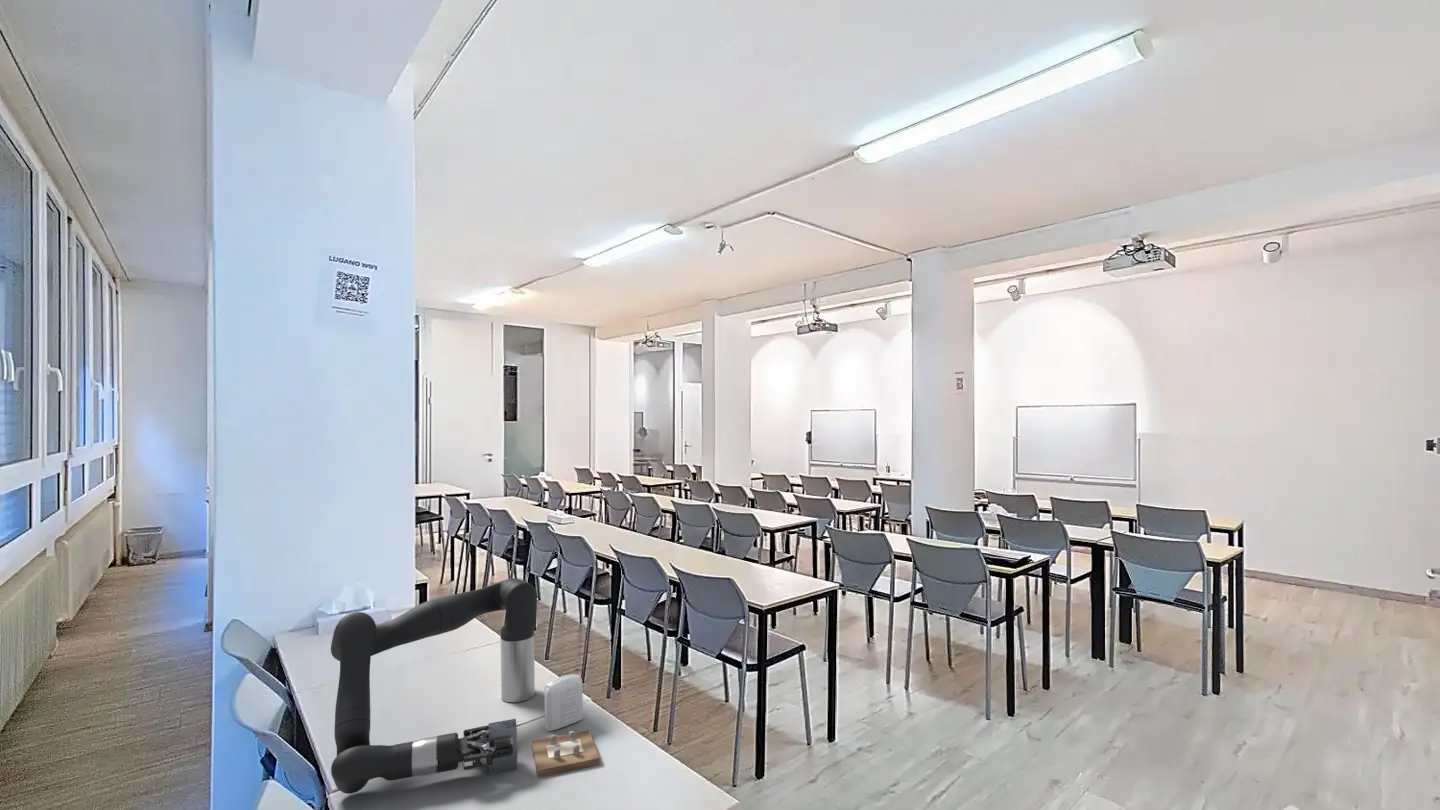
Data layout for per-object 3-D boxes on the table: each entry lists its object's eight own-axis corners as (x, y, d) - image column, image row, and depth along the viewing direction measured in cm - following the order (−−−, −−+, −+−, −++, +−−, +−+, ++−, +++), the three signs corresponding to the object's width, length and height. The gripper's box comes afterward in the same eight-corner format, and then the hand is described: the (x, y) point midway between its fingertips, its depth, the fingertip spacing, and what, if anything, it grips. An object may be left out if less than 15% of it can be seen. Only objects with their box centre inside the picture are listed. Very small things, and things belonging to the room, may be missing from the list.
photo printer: (576, 714, 178) (576, 668, 178) (585, 719, 175) (584, 673, 175) (542, 727, 171) (541, 680, 171) (550, 733, 167) (549, 685, 167)
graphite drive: (489, 766, 153) (488, 723, 153) (516, 761, 155) (515, 718, 155) (489, 775, 149) (489, 731, 149) (517, 770, 151) (516, 726, 151)
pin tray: (531, 747, 161) (531, 732, 161) (589, 736, 166) (588, 722, 166) (537, 777, 148) (537, 761, 148) (599, 764, 153) (599, 749, 153)
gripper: (436, 755, 153) (510, 741, 159) (434, 788, 140) (513, 772, 146) (436, 723, 153) (509, 710, 159) (433, 753, 140) (513, 738, 146)
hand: (511, 740), depth 153 cm, fingers open, 8 cm apart
